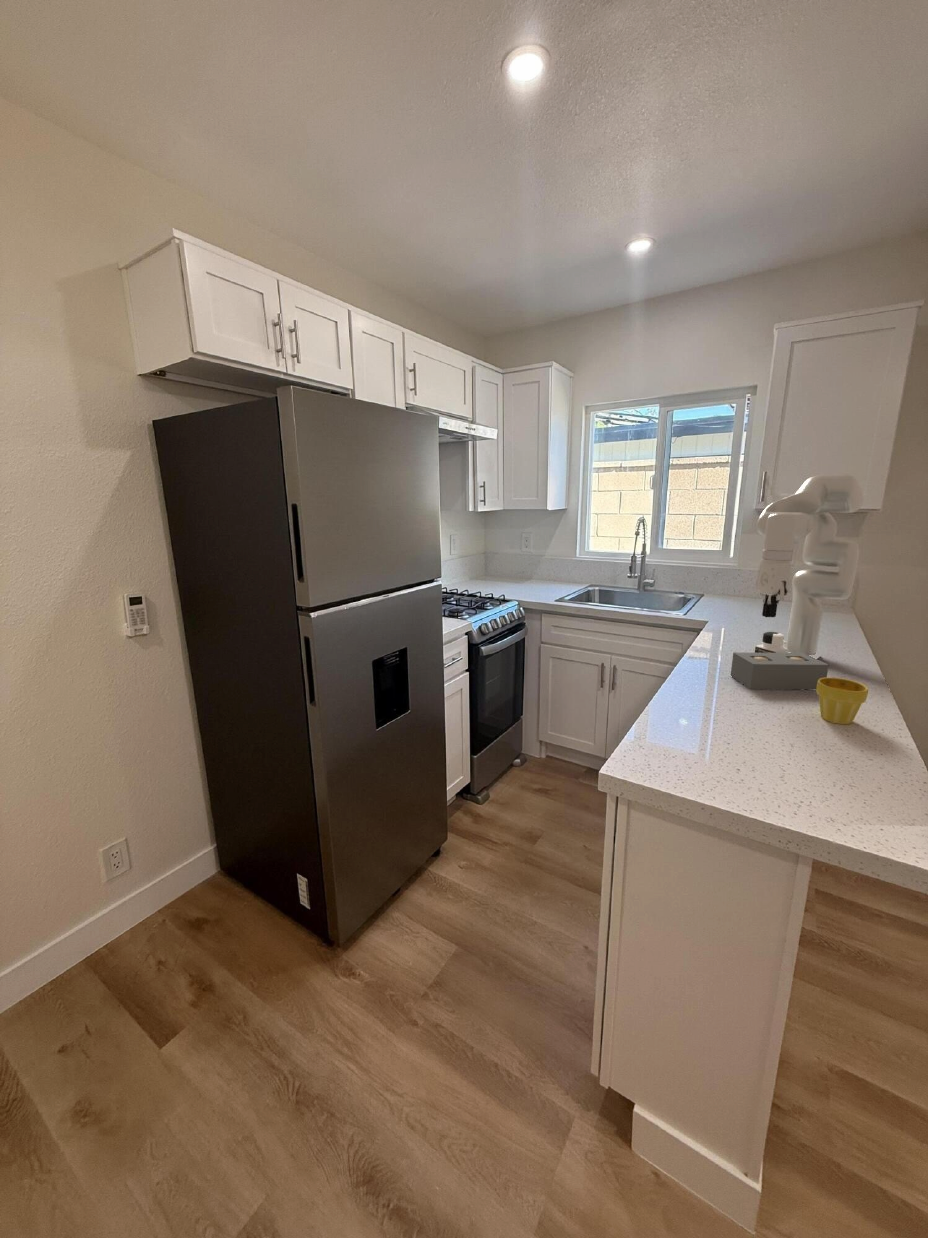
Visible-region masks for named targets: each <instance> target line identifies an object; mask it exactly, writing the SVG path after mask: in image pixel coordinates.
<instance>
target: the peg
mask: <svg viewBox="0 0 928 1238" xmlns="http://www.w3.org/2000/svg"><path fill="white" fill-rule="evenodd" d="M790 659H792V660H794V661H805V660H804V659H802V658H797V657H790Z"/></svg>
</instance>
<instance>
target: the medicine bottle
mask: <svg viewBox="0 0 928 1238" xmlns="http://www.w3.org/2000/svg"><path fill="white" fill-rule="evenodd" d="M784 640H785V635H784V634H782V633H780V632H776V631H766V632H763V634H762V642H761V644H758V645H757V644H756V645H755V648H754V653H788V650H789V649H788V648H785V646H784V643H783V641H784Z"/></svg>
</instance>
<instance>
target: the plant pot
mask: <svg viewBox="0 0 928 1238" xmlns="http://www.w3.org/2000/svg"><path fill="white" fill-rule="evenodd" d="M815 691H816V693H817V695H818V699H819V700H818V701H819V709H820V717H821V718H822V719H823V720H824V721H826V720H827V721H828V722H830V723H832V724H837V725H850V724H852V723H853V722H854V721H855V718H856V716H857V714H858V712H859V710H860V708H861V706H862V704H864V703H866V701H867V698H868V694H869V687H868V686H867V685H865V684H863V683H861V682H858V681H855V680H852V679H847V678H842V677H834V676H833V677H832V676H831V677H829V676H827V677H825V678H820V679H819V680H818V682H817V689H816V690H815Z"/></svg>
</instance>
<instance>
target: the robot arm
mask: <svg viewBox="0 0 928 1238" xmlns="http://www.w3.org/2000/svg"><path fill="white" fill-rule="evenodd" d="M863 502H864V492H863V489H862V486H861V484H860V483H859V481H858V479H857V478H855V476H853V475H850V474H823V475H822V474H820V475H814V476H811V477H809V478H807V479H806V480H804V482H803V484H801V486H800V487H799V489H798V490H797V491H796V492H795V493H794V494H792V495H790V496H787V497H784V498H782V499H778V500H776V501H774V502H771V503H770V504H769V505H767V506H766V507H765V508H764V510H763V511H762V512H761V513H760V515H759V517H758V520H757V522H756V531H757V533H758V534H759V535H760V536H763V537H764V541H763V546H762V547H763V550H762V555H761V560H760V563H759V566H758V570H757V574H756V581H755V586H754V588H755V591H757V592H758V593H759V594H760V595H761V596H762V602H763V605H762V614H761V616H762V617H765V618H775V617H776V616H777V610H778V605H779V604H780V602H781V601H785V596H787V595H788V594H789V591H790V585H791V574H792V573H791V572H792V560H793V553H794V547H795V539H802V538H804V537H805V540H804V544H803V551H802V561H803V563H804V564H805V565H807V566H812V567H813V566H814V567H824V568H835V569H837V570H838V571H834V570H833V571H831V570H820V569H819V570H818V569H802V570H801V569H800V570H798V571H796V573H795V574H794V575H793V577H792V585H791V588H792V589H791V590H792V600H791V601H792V602H791V610H790V615H789V616H790V617H789V622H788V623H789V624H788V629H787V635H786V639H784V641H783V645H784V647H786V648H788V649H789V650H788V652H791V653H804V654H806V655H815V654H816V652H817V650H818V643H819V637H820V632H821V625H822V621H823V620H822V619H823V614H824V608H823V605H822V604H821V602H820V601H819V599H820V598H822V599H830V600H842V601H843V600H846V599H848V598H850V596H851V594H852V592H853V588H854V583H855V578H856V574H857V569H858V568H857V567H858V562H859V556H860V547H859V545H858V543H857V542H856V541H853V540H849V539H848V540H846V539H836V535H837V531H838V523H837V521H836V520H835V518H834V517H833V516H832V514H831V513H833V514H834V513H837V514H839V513H840V514H841V513H843V514H850V513H855V512H857V511H859V510H860V508H862V505H863Z"/></svg>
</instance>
